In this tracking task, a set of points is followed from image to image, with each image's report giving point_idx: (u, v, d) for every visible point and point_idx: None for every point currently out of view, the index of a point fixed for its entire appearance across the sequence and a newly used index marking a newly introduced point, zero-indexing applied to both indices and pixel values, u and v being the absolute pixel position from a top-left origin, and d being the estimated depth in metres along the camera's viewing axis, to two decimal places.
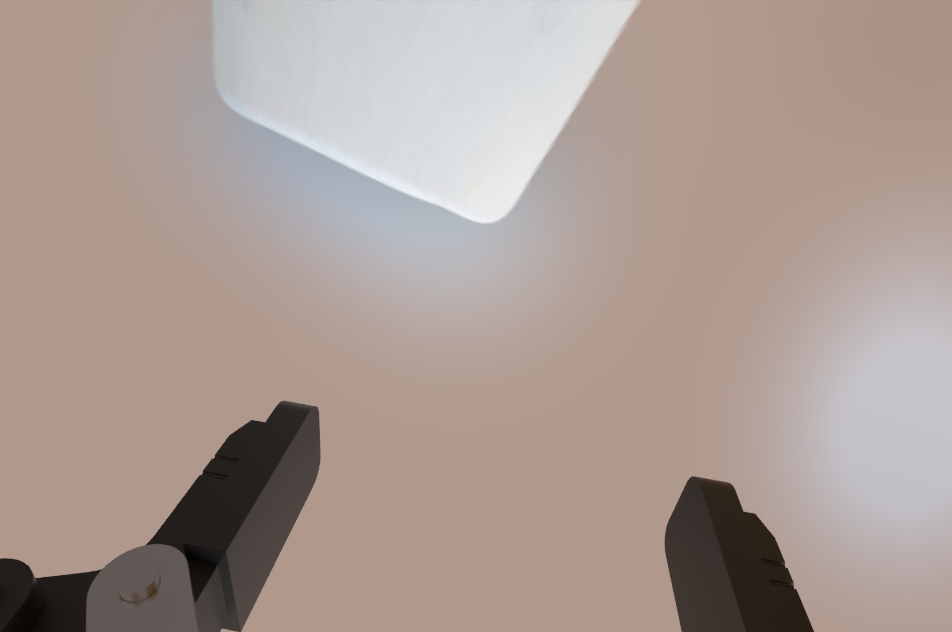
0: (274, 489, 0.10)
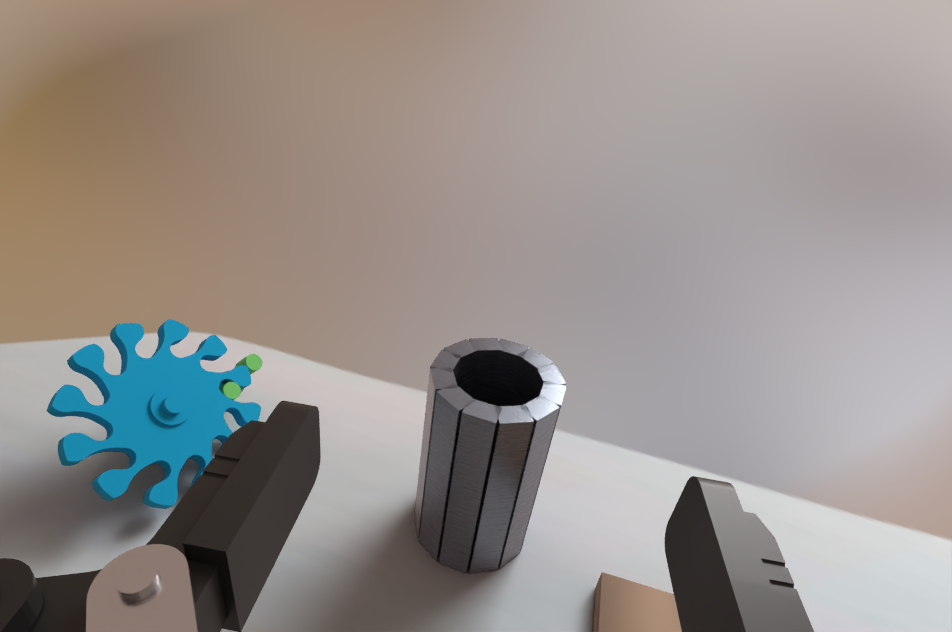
0: (274, 490, 0.10)
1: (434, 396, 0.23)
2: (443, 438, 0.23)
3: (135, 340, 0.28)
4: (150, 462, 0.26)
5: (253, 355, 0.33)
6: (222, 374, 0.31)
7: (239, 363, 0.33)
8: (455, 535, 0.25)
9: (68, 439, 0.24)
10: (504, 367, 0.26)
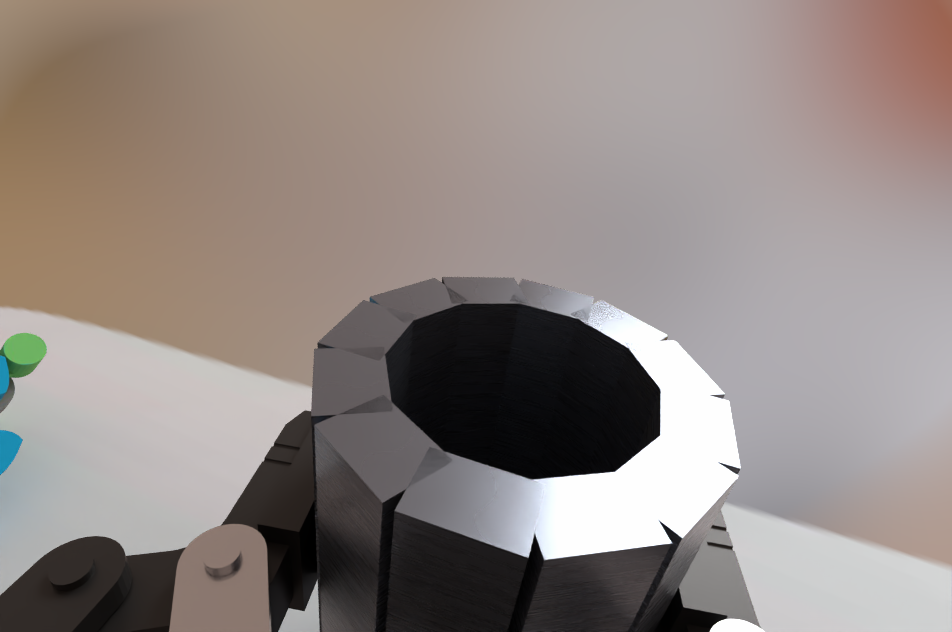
0: None
1: (314, 439, 0.07)
2: (347, 576, 0.07)
3: None
4: None
5: (27, 336, 0.17)
6: None
7: (0, 351, 0.17)
8: None
9: None
10: (533, 350, 0.10)
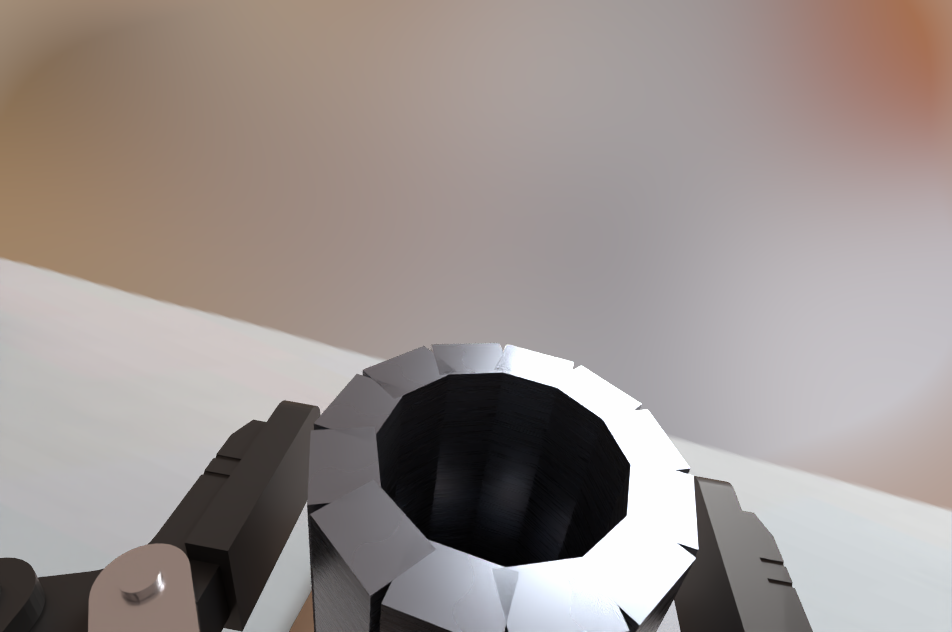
0: (276, 490, 0.10)
1: (310, 523, 0.08)
2: None
3: None
4: None
5: None
6: None
7: None
8: None
9: None
10: (517, 414, 0.11)
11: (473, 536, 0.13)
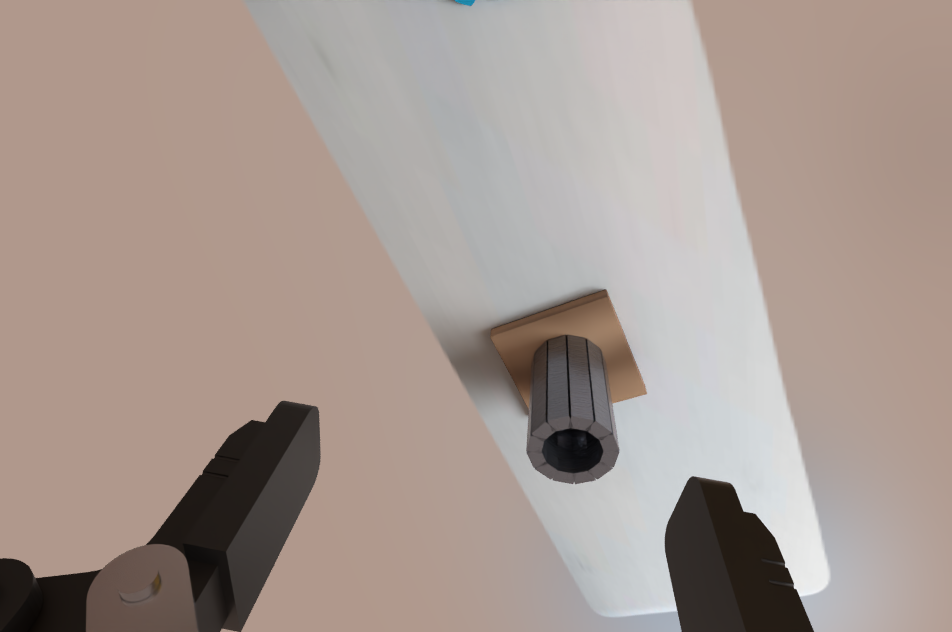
0: (274, 489, 0.10)
1: (532, 429, 0.36)
2: (529, 423, 0.38)
3: None
4: None
5: None
6: None
7: None
8: None
9: None
10: None
11: None
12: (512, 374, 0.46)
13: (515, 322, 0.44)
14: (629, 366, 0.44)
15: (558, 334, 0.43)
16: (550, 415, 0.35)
